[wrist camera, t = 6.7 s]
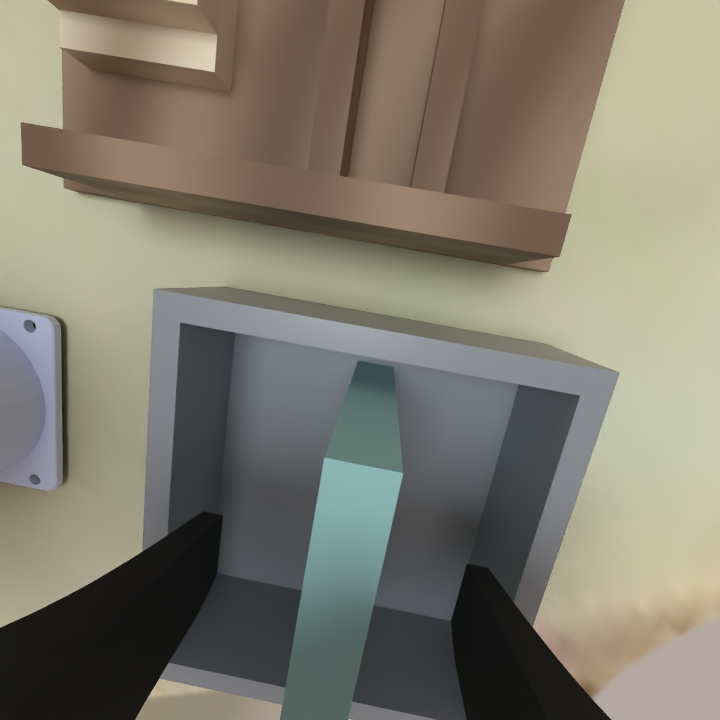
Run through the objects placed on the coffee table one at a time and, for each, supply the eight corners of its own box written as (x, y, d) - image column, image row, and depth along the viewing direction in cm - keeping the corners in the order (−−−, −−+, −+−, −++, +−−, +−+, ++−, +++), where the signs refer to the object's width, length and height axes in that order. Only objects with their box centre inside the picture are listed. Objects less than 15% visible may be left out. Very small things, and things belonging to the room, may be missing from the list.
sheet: (319, 573, 16) (259, 840, 9) (358, 360, 14) (324, 457, 6) (350, 579, 16) (317, 853, 8) (393, 366, 14) (403, 472, 6)
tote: (199, 575, 17) (137, 673, 13) (224, 286, 14) (153, 288, 10) (463, 628, 17) (490, 749, 13) (546, 344, 14) (619, 372, 10)
